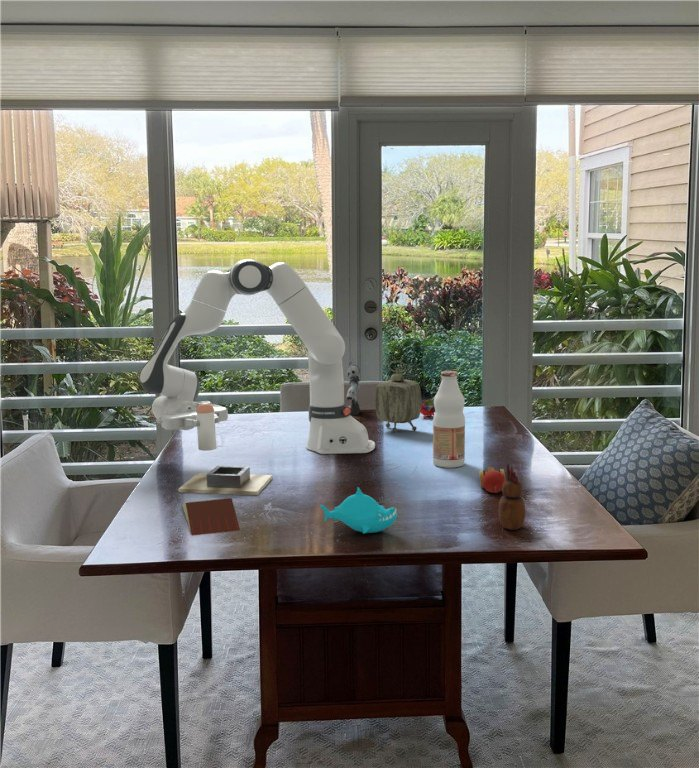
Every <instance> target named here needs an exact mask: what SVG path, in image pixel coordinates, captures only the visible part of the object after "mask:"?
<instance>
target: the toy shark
mask: <svg viewBox="0 0 699 768" xmlns="http://www.w3.org/2000/svg"><path fill="white" fill-rule="evenodd" d="M319 507H320V508H321V509H322V511H323V512H324V519H323V520H324V522H326V521H327V520H328V519H333V521H337V520H338V521H340V522H342V523H343V524H345V525H346V526H348V527H349V528H351V529H352V530H354V531H356V532H360V533H362V534H372V533H374V534H375V533H378V532H382V531H384V530H385V529H387V528H389V527H390V526H392V525H393V524H394V523H395V521H396V520H397V518H398V513H397V508H396V507H395V506H393V507H392V506H391V507H390V508H385V506H384V505H380V504H379V502H377V501H376V499H374V498H373V497H372V496H370V495H367V494H364V493H363V492H362V490H361V489H360V487H358V486H357V487H356V493H354V494H352V495H350V496H347V497H346V498H345V499H344V500H343V501H342V502H341V503H340V504H339V505H338V506H334V509H333V510H328V509H327V507H326V506H325V505H322V504H320V505H319Z"/></svg>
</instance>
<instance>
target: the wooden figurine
mask: <svg viewBox="0 0 699 768" xmlns="http://www.w3.org/2000/svg"><path fill="white" fill-rule="evenodd" d="M505 473H506V474H505V479H506V481H504V483H503V485H502V490H501V492H502V496H501V497H500V499H499V502H498V518H499V521H500V524H501V526H502V528H504V529H506V530H509V531H510V530H512V531H513V530H519V529H521V528H522V527H523V524H524V522H525V518H526V505H525V502H524V500H523V498H522V497H521V496H522V494H523V485H522V483H521V481H519V479H518V478H519V477H518V475H516V472H515V471H514V469H513V466H510V465H509V463H506V471H505Z"/></svg>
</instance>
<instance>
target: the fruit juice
mask: <svg viewBox="0 0 699 768" xmlns="http://www.w3.org/2000/svg"><path fill="white" fill-rule="evenodd" d="M440 378H441V382H440V384H439V387H438V390H437V392H436V394H435V397H434V396H433V397H434V407H435V413H434V416H433V417H432V419H433V421H432V433H433V434H432V462H433V464H434V466H435V467H439V468H445V469H446V468H449V469H451V468H452V469H453V468H454V469H455V468H459V467H462V466H464V464H465V462H466V461H465V460H466V459H465V457H466V455H465V454H466V453H465V452H466V451H465V449H466V447H465V446H466V445H465V444H466V438H465V437H466V436H465V435H466V430H465V429H466V418H465V414H464V407H465V405H466V403H465V397H464V395H463V393H462V391H461V388H460V386H459V383H458V371H455V370H443V371H441V372H440Z"/></svg>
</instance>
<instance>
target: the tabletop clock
mask: <svg viewBox="0 0 699 768" xmlns="http://www.w3.org/2000/svg"><path fill="white" fill-rule="evenodd" d="M394 363H397V364H402V365H403V366H404V369H403V370H400V369H399V368H396V369H395V370H394V369H392V368H391V365H392V364H394ZM388 369H389V370H390V371H391V372H393V374H392V375H391V376H390V379H389V380H385V381H383V382H379V383H377V386H376V390H375V399H374V400H375V412H376V413H375V414H376V417H377V419H379V420H381V421H383V422H387V423H385V427H386V428H390V427H391V424H394V426H393V428H392V432H393V433H397V432H398V429H397V424H407V423H408V424H409V425H410V426H411V429H412V431H413V432H416V431H417V426H414V424H413V422H412V421H414V420H417V419H419V418H420V415H421V413H420V412H421V405H422V391H421V386H420V384H419V382H417V381H415V380H409V379H405V376H404V375H403V374H402V373H405V371H406V370H407V365H406V363H405V362H403V361H400V360H392V361H390V362H389V363H388ZM390 423H391V424H390Z"/></svg>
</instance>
